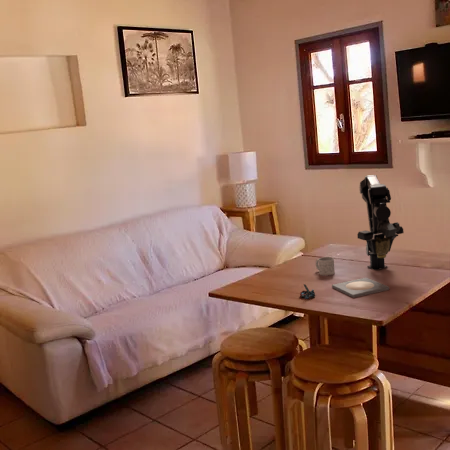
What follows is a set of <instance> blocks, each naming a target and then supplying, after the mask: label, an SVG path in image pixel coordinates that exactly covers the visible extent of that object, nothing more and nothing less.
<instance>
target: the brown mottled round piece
mask: <svg viewBox="0 0 450 450" xmlns="http://www.w3.org/2000/svg"><path fill="white" fill-rule="evenodd" d="M376 239H377V240H376V242H375V247H376V254H378V255H377V257H378V258H384V259H385V258H387V255H388V254H389V249H390V238H389V239H388V237H386V238H385V237H384V238H383V239H380V237H379V239H378V238H377V237H376ZM390 250H391V249H390Z"/></svg>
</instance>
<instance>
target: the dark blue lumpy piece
mask: <svg viewBox="0 0 450 450" xmlns="http://www.w3.org/2000/svg"><path fill="white" fill-rule="evenodd" d="M303 287H304V289H305V290H302V291H301V292H300V293H299V295H300V296H299V297H298V298H299V300H301V301H308V300H312V299H313V298H315V297H316V292H315V289H311V290H310V289H309V288H308V286H307V285H306V284H304V283H303Z"/></svg>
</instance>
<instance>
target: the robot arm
mask: <svg viewBox="0 0 450 450" xmlns="http://www.w3.org/2000/svg"><path fill="white" fill-rule="evenodd" d="M359 194H360V195H361V199H362V200H363V201H364V202H365V204H366V210H367V219H368V228H369V230H361V231H360V230H359V231H358V232H357V239H359V240H363V241H365V242H366V243H365V244H366V245H365V253H366V256H368V257H369V263H370V265H367V268H369V269H371V270H374V271H379V270H381V269H386V268H388V267H389V266H387V265H385V258H378V257H377V255H378V254H376V247H375V242H376V240H377V239H376V237H377V238H378V239H379V237H380V239H383V238H384V237H385V238H386V237H388V239H389V238H390V249H389V252H390V251H391V249H392V245H393V242H394V241H395V239H396V238H397V237H399V235H402V234H404V228H403V226H402V225H400V222H397V221H396V222H393V223H390V219H389V218H390V217H391V214H392V212H391V209H390V208H389V207H388V206H387V204H388V203H391V199H392V197H391V191H390V189H389V188H388V187H387V185H386V184H385V183H380V180H379V179H378V176H377V175H376V174H371V175H365V176H364V178H363V179H362V180H361V181H360V182H359ZM389 252H388V253H389Z"/></svg>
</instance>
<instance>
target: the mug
mask: <svg viewBox="0 0 450 450" xmlns="http://www.w3.org/2000/svg"><path fill="white" fill-rule="evenodd" d="M315 267H316V270H318V273H319V274H318V275H320V276H322V277H323V276H324V277H325V276H328V275H329V276H333V275H335V273H336V271H335V270H336V269H335V260H334V257H332V256H331V257H330V256H323V257H319V258H318V259H316V260H315Z"/></svg>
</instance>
